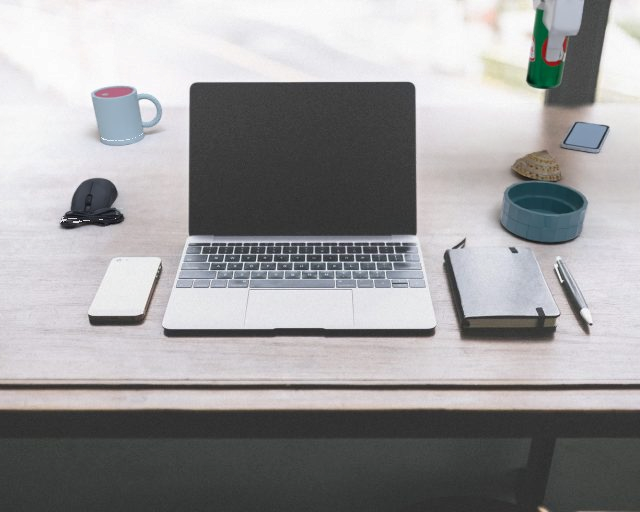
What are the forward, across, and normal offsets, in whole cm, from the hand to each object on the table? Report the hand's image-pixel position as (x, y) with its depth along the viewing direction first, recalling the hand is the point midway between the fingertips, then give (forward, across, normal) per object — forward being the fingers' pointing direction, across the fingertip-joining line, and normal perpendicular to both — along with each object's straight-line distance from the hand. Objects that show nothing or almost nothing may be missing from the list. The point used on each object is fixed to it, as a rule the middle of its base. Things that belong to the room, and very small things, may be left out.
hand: (548, 54), depth 91 cm
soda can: (+5, 0, 0) cm, 5 cm away
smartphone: (+25, +33, -16) cm, 44 cm away
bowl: (+25, -7, -2) cm, 26 cm away
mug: (+24, +22, +80) cm, 86 cm away
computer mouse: (+24, -11, +71) cm, 76 cm away
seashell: (+25, +13, -3) cm, 28 cm away
